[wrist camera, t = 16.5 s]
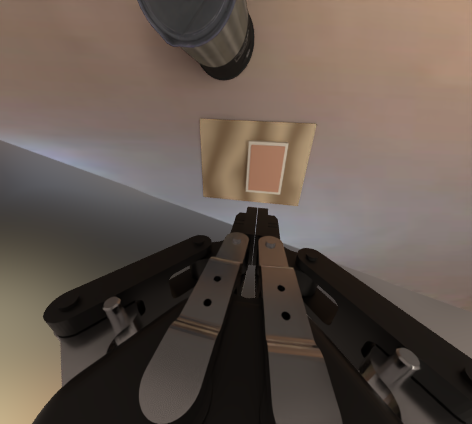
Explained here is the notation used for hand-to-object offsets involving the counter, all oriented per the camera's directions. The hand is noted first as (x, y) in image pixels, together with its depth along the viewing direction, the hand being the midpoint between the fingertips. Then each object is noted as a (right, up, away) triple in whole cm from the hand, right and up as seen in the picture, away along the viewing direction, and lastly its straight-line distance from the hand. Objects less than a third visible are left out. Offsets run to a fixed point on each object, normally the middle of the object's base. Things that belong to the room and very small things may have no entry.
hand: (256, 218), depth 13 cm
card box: (+1, +9, +19) cm, 21 cm away
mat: (+2, +10, +21) cm, 23 cm away
